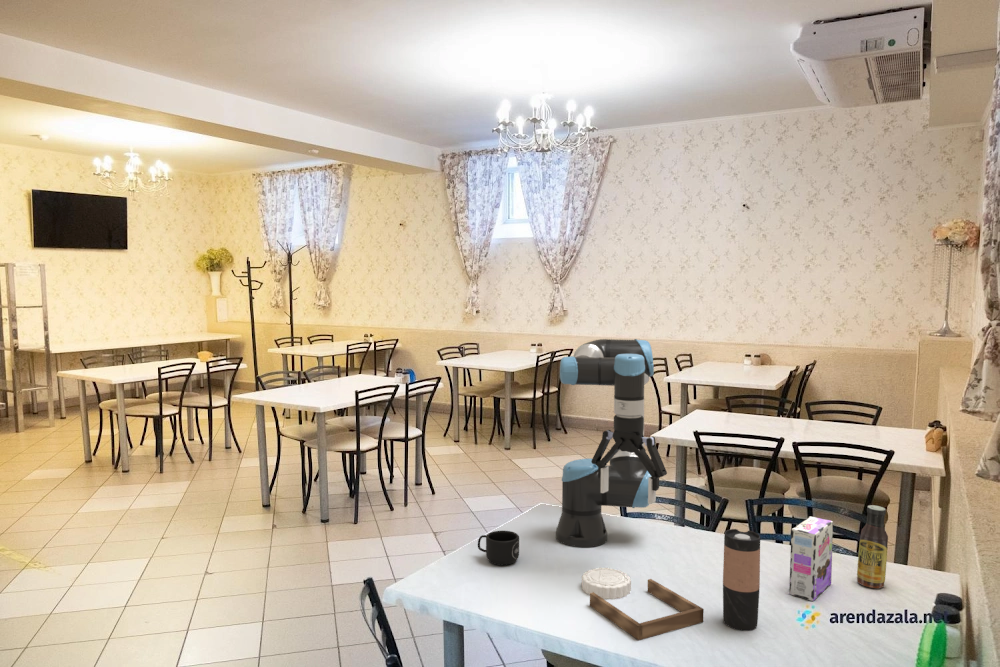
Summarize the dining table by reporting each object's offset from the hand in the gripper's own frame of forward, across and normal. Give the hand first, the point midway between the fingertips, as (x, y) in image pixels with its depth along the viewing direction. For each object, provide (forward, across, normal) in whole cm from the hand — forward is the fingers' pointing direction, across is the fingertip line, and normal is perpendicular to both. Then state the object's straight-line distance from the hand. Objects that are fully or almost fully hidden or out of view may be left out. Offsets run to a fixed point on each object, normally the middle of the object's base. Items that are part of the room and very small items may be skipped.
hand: (627, 497), depth 176 cm
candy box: (+21, +39, +22) cm, 49 cm away
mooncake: (+21, 0, -10) cm, 23 cm away
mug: (+21, -32, -13) cm, 41 cm away
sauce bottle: (+21, +50, +35) cm, 64 cm away
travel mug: (+20, +32, -7) cm, 38 cm away
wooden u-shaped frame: (+20, +14, -16) cm, 29 cm away
